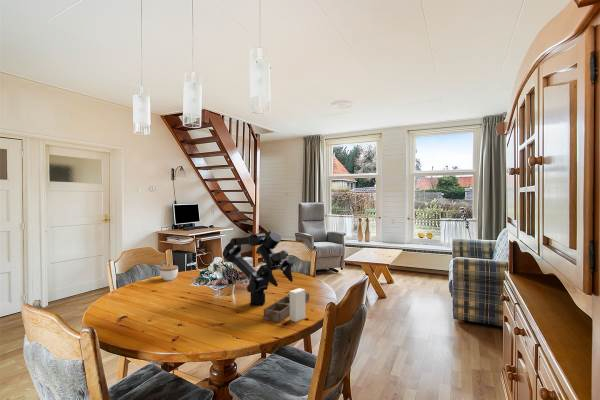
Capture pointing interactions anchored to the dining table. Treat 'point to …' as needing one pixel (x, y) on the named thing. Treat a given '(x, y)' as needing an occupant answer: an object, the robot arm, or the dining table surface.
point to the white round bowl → (169, 272)
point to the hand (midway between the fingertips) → (284, 283)
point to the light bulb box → (248, 260)
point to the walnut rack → (280, 309)
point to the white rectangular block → (297, 304)
